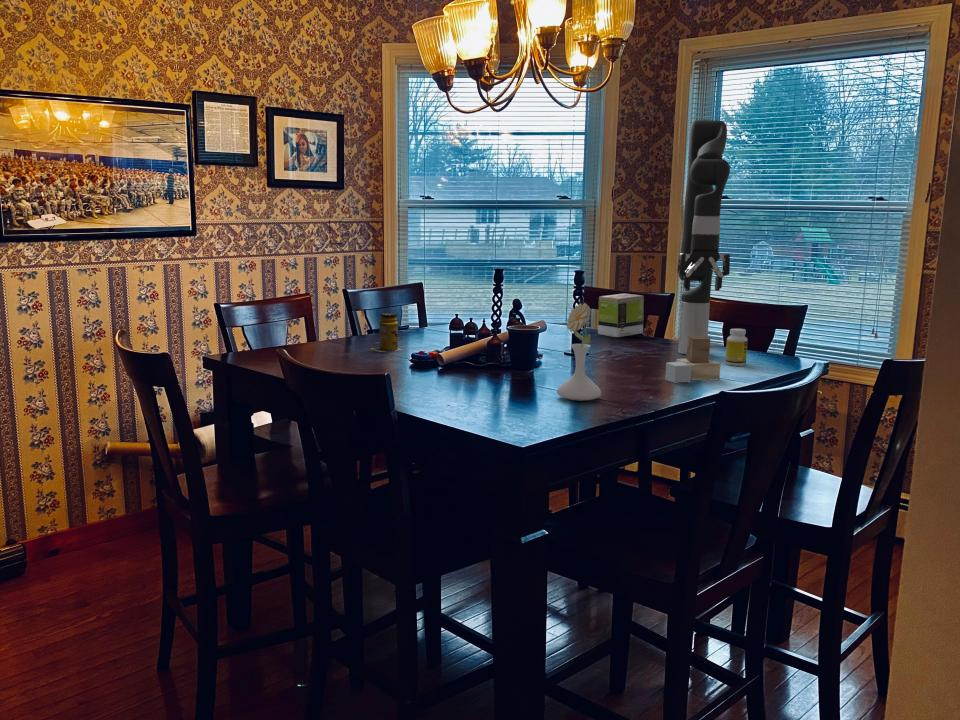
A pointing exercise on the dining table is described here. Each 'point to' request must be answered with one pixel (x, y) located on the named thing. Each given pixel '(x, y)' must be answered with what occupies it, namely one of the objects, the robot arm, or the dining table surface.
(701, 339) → the walnut block
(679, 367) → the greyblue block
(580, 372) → the flower in vase
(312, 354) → the dining table surface
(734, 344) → the pill bottle
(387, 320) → the condiment
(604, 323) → the tea box
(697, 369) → the maple block
